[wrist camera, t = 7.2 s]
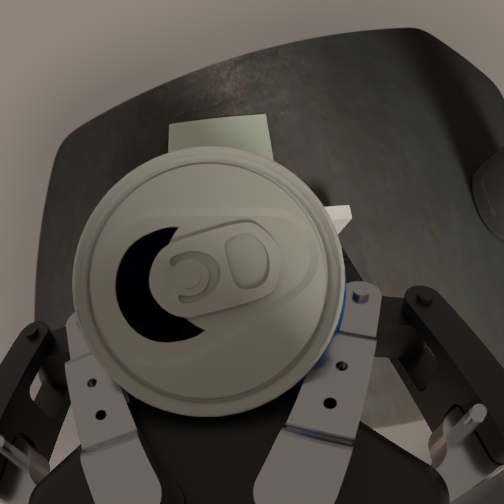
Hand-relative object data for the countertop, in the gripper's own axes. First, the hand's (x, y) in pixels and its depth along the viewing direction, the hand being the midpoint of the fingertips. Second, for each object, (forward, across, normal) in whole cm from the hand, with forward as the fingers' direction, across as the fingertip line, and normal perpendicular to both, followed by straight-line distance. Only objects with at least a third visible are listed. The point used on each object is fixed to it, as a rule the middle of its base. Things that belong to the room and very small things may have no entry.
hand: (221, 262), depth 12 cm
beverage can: (+3, 0, +5) cm, 6 cm away
